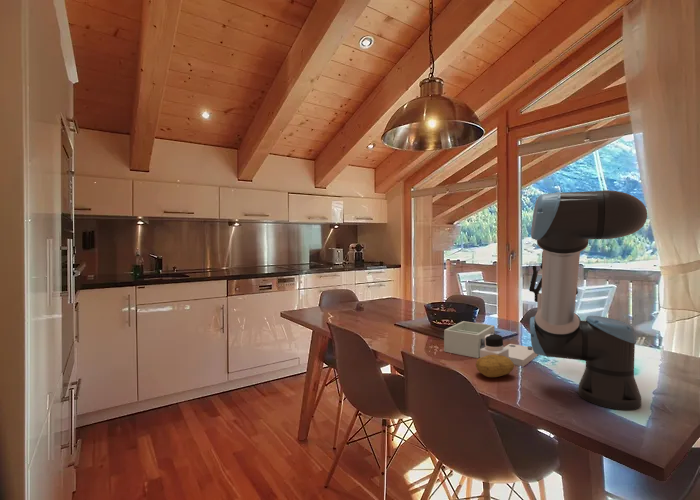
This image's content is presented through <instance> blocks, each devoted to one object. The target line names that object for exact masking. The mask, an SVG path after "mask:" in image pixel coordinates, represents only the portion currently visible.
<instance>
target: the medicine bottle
mask: <svg viewBox="0 0 700 500" xmlns="http://www.w3.org/2000/svg"><path fill="white" fill-rule="evenodd" d="M504 347H505V346H504V339H503V336H502V335H501V334H497V333H495V334H488V335H486V336H485V347H484V348H482V349H480V357H479V358H481V357H484V356H488V355H500V356H505V357H508V358H509V350H508V348H504Z"/></svg>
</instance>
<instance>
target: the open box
mask: <svg viewBox="0 0 700 500" xmlns="http://www.w3.org/2000/svg"><path fill="white" fill-rule="evenodd" d="M443 331H444V332H443V333H444V334H443V352H445V353H451V354H455V355H460V356H466V357H470V358H474V359H475V358H476V359H479V358H480V349H482V348H484V347H485V336H486V335H488V334H496V333H495V325H492V324H488V323H487V324H486V323H479V322H471V321H465V320H463V321H460V322H458V323H456V324H454V325H452V326H450V327H447V328H445V329H444V330H443Z"/></svg>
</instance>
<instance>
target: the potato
mask: <svg viewBox="0 0 700 500" xmlns="http://www.w3.org/2000/svg"><path fill="white" fill-rule="evenodd" d="M475 367H476V369H477V371H478V372H479V373H480V374H482V375H483V376H485V377H487V378H498V377H503V376H506V375H508V374H510V373H511V372H513V370H514V369H515V365H514V363H513V362H512V361H511V360H510V359H509V358H508V357H505V356H500V355H488V356H484V357H481V358H480V357H479V358H477V360H476V362H475Z"/></svg>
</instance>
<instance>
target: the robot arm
mask: <svg viewBox="0 0 700 500" xmlns="http://www.w3.org/2000/svg"><path fill="white" fill-rule="evenodd" d="M536 198H537V199H536V200H535V204H534V209H533V214H532V221H531V230H530V237H531V239H532V240H535V241H536V245H537V247H539V248H540V249H541V250H542V252H541V263H540V265H533V266H532V268H531V269H532V275H531V280H530V285H529V292H531V293H534V303H536V304H537V308H536V310H537V311H536V313H535V315H534V316H531V317H530V318H529V333H530V342H531V347H532V348H533V351H534V352H535V353H536V354H538V356H543V357H547V358H549V357H550V358H558V359H569V360H576V361H584V362H585V369H584V372H583V373H582V376H581V379H580V381H579V383H578V387H577V390H578V391H577V393H578V395H579V397H580V398H581V399H583V400H585V401H587V402H589V403H591V404H594V405H597V406H600V407H604V408H606V409H607V408H608V409H613V410H619V411H620V410H623V411H631V410H636V409H637V410H638V409H640V408H641V407H642V396H641V393H640V390H639V387H638V384H637V382H636V379H635V378H636V377H635V353H636V352H635V349H636V348H635V347H636V346H635V345H636V342H637V341H636V336H635V329H634V327H633V326H632V325H631V324H630V323H627V322H625V321H622V320H618V319H616V318H611V317H605V316H600V315H599V316H598V315H587V316H586V318H585V320H581V319H580V318H579V316H578V315H577V314H576V313H575V310H576V299H577V295H578V294H579V291H578V279H579V278H578V277H579V267H580V257H581V252H582V251H585V250H586V248H587V247H588V246H589V240H610V239H618V238H623V237H626V236H630V235H632V234H636V233H637V232H638V231H640V230H641V229H642V228H643V227H644V226H645V224H646V223H647V220H648V210H647V207H646V205H645V204H644V203H643V201H641V200H640V199H639V198H637V197H636V196H633V195H632V194H629V193H626V192H623V191H618V190H607V189H606V190H605V189H604V190H592V191H588V190H587V191H570V192H568V191H567V192H560V191H556V192H551V193H543V194H540V195H538V196H537V197H536ZM540 270H541V278H540V279H539V282H538V284H537V283H536V282H537V278H538V276H539V275H538V274H539V271H540ZM536 284H537V286H536Z"/></svg>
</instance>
